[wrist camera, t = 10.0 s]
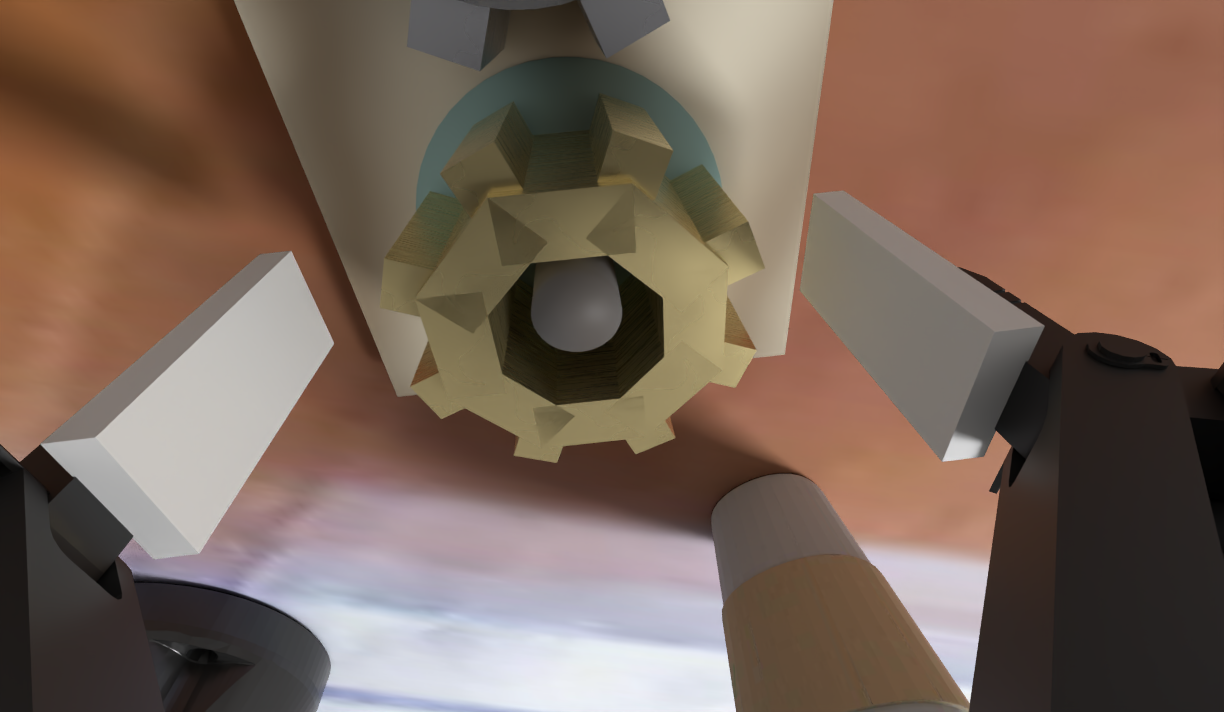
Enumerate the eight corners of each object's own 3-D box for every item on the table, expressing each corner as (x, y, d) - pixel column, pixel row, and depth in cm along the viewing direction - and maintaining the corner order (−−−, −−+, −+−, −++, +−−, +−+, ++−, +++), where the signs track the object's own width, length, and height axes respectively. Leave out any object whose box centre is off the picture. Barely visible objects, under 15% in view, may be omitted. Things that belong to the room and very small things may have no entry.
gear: (469, 372, 18) (442, 483, 14) (392, 110, 13) (315, 163, 9) (708, 347, 18) (750, 449, 14) (718, 79, 13) (786, 117, 9)
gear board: (407, 371, 20) (347, 516, 14) (23, -628, 8) (-1039, -1847, 3) (771, 332, 20) (849, 460, 15) (890, -696, 8) (1482, -1946, 3)
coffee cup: (641, 539, 27) (706, 998, 15) (759, 417, 23) (990, 923, 10) (777, 582, 30) (922, 985, 18) (902, 483, 26) (1207, 924, 14)
